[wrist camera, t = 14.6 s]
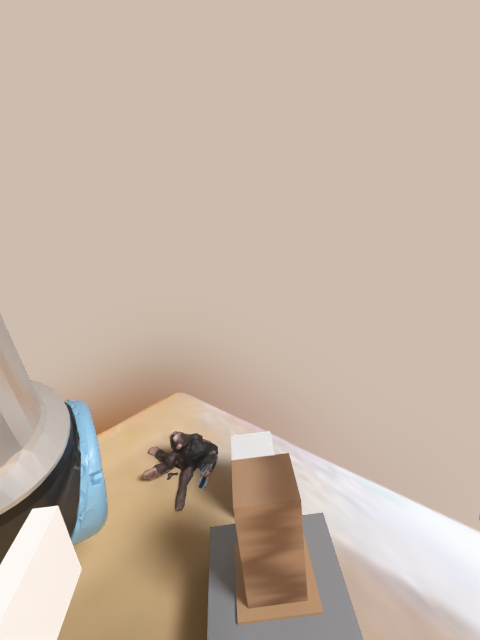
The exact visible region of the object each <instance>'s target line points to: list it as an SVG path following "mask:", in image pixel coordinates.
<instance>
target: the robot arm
mask: <svg viewBox="0 0 480 640" xmlns="http://www.w3.org/2000/svg"><path fill="white" fill-rule="evenodd" d="M107 513H108V504H107V494H106V486H105V480H104V476H103V474H102V464H101V456H100V450H99V445H98V440H97V436H96V432H95V427H94V423H93V420H92V416H91V413H90V410H89V407H88V405H87V404H86V403H85V402H83V401H80V400H76V401H69V400H68V401H65V402H64V401H63V400H62V398H61V396H60V395H59V394H58V393H57V392H56V391H54V390H53V389H52V388H50V387H48V386H47V385H44V384H42V383H39V382H36V381H32V380H30V379H29V377H28V375H27V372H26V370H25V368H24V366H23V364H22V361H21V359H20V357H19V355H18V352H17V350H16V348H15V346H14V344H13V341H12V339H11V337H10V335H9V332H8V330H7V328H6V326H5V324H4V321H3V319H2V317H1V315H0V640H57V638H58V635H59V632H60V629H61V627H62V624H63V621H64V618H65V615H66V613H67V610H68V607H69V604H70V601H71V598H72V596H73V593H74V590H75V587H76V584H77V582H78V579H79V576H80V573H81V570H82V568H81V566H80V563H79V560H78V558H77V555H76V552H75V550H74V545H76V544H78V543H80V542H82V541H84V540H85V539H87V538H89V537H91V536H93V535H95V534H96V533H97V532H99V531H100V530H101V528H102V527H103V526H104V524H105V522H106V519H107ZM479 520H480V516H479Z"/></svg>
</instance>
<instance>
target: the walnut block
mask: <svg viewBox="0 0 480 640" xmlns="http://www.w3.org/2000/svg"><path fill="white" fill-rule="evenodd" d="M231 469H232V494H233V511H234V518H235V524H236V531H237V537H238V544H239V550H240V557H241V563H242V570H243V576H244V583H245V590H246V596H247V603H248V609H249V608H256V607H264V606H272V605H279V604H287V603H295V602H303V601H308V596H307V581H306V567H305V553H304V538H303V524H302V510H301V498H300V495H299V491H298V487H297V483H296V479H295V475H294V472H293V468H292V464H291V460H290V456H289V453H286V454H278V455H270V456H262V457H254V458H246V459H238V460H231Z"/></svg>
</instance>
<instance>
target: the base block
mask: <svg viewBox="0 0 480 640" xmlns="http://www.w3.org/2000/svg"><path fill="white" fill-rule="evenodd" d="M302 524H303V538H304V553H305V567H306V581H307V596H308V601H303V602H295V603H287V604H279V605H272V606H264V607H256V608H249V609H248V603H247V596H246V590H245V583H244V576H243V570H242V563H241V557H240V550H239V544H238V537H237V531H236V524H231V525H223V526H215V527H210V558H209V591H208V625H207V640H363V637H362V634H361V631H360V628H359V625H358V621H357V618H356V615H355V612H354V609H353V606H352V603H351V600H350V596H349V593H348V590H347V587H346V584H345V581H344V578H343V574H342V571H341V568H340V565H339V562H338V559H337V556H336V553H335V549H334V546H333V543H332V540H331V537H330V534H329V531H328V527H327V524H326V521H325V518H324V515H323V513H317V514H309V515H302Z"/></svg>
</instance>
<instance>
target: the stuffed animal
mask: <svg viewBox="0 0 480 640" xmlns="http://www.w3.org/2000/svg"><path fill="white" fill-rule="evenodd" d="M170 443H171V448H172V449H173V451H172V452H171V453H169V454H167V453H165V452H164V451H163V450H161V449H159V448H158V447H152V448H150V449H149V453H150V454H151V455H153V456H155V457H156V458H157V459H158V460H159V461H162V462H163V463H162V464H158V465H155V466H154V467H153V469H150V470H147V471H145V472H144V473H143V478H144V479H151V480H152V479H154V478H156V477H158V476H161V475H163V474H164V473H166V472H169V471H171V470H172V469H173V468H174V466H175V467H178V468H180V469H181V470H182V473H181V477H180V483H179V490H178V493H177V498H176V510H177V511H180V510H182V509H183V507H184V505H185V497H186V490H187V485H188V483H189V481H190V480H191V478H192V476H193V472H194V471H195V470H196V468H199V469H200V470H201V474H200V480H199V488H200V489H203V488H205V487H206V485H207V483H208V479H209V476H210V474H211V472H212V471H213V469H214V467H215V465H216V462H217V458H218V457H217V454H218V447H217V446H216V445H215V444H213V443H211V442H210V441H208V440H205V439H203V438H202V436H201V435H199V434H196V433H195V434H191V435H189V434H184V433H181V432H177V431H175V432H173V434H172V436H171V437H170ZM173 475H178V473H169V474H168V478H167V480H169V479H170V478H171V477H172V476H173Z"/></svg>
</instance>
